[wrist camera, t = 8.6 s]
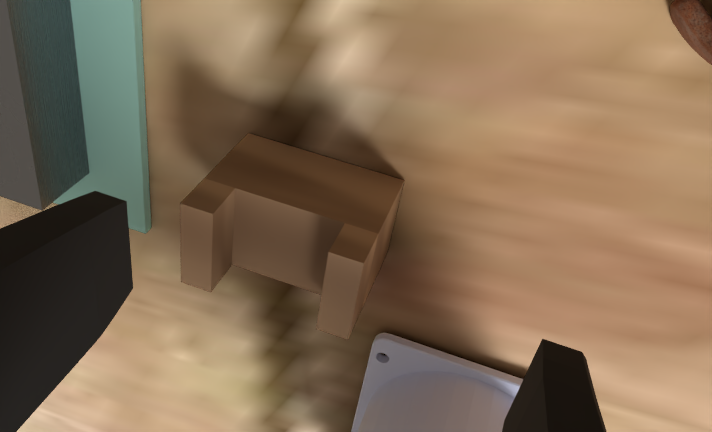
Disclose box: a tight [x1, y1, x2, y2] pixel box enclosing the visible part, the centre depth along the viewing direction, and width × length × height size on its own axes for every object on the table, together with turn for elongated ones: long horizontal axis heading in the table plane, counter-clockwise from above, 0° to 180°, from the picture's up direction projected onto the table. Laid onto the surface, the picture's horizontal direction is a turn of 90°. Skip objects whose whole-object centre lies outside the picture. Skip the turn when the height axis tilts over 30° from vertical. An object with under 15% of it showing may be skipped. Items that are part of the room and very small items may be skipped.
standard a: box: [180, 133, 404, 340], centre depth 21 cm, size 3×5×4 cm, turn 81°
